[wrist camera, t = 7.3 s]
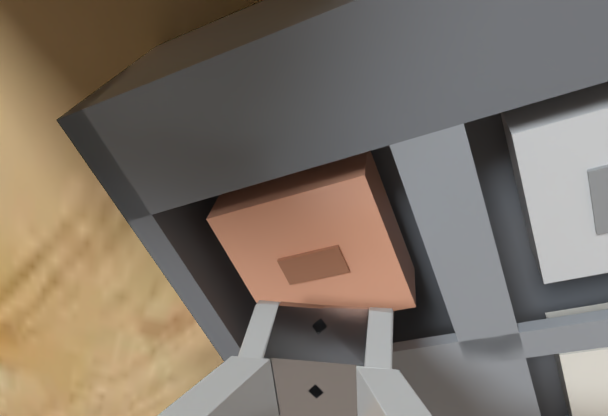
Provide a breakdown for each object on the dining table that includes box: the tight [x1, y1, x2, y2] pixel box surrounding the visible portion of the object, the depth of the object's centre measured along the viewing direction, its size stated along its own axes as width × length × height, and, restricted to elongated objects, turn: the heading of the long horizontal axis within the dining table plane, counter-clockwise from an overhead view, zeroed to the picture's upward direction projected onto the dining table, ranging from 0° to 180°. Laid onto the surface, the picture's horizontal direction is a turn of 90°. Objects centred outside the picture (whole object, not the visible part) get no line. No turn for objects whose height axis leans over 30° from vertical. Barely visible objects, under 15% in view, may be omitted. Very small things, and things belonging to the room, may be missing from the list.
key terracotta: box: [206, 151, 416, 311], centre depth 13 cm, size 4×4×2 cm
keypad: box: [57, 0, 608, 416], centre depth 16 cm, size 14×24×5 cm, turn 23°
